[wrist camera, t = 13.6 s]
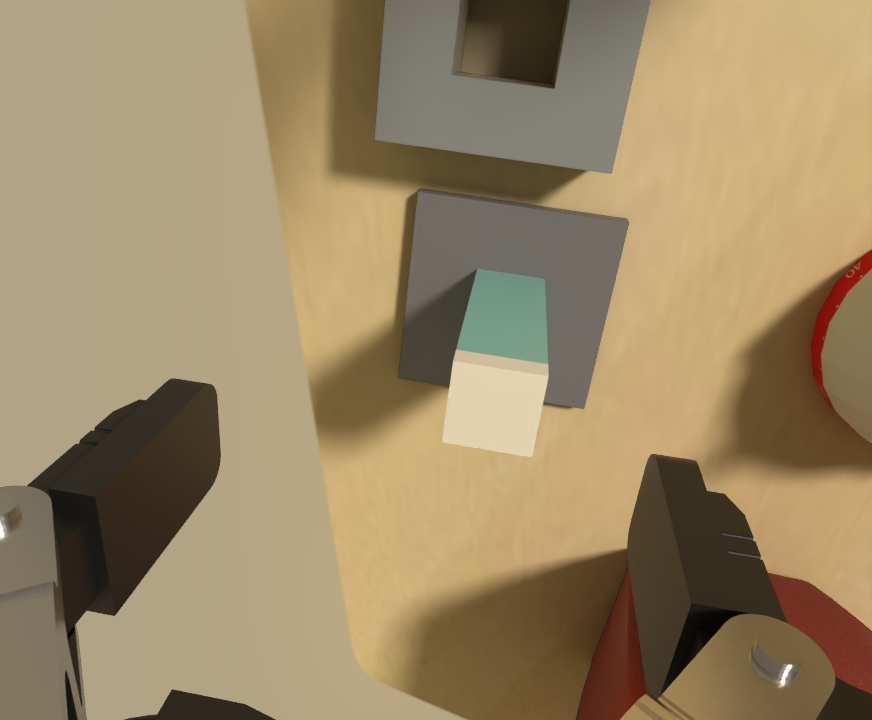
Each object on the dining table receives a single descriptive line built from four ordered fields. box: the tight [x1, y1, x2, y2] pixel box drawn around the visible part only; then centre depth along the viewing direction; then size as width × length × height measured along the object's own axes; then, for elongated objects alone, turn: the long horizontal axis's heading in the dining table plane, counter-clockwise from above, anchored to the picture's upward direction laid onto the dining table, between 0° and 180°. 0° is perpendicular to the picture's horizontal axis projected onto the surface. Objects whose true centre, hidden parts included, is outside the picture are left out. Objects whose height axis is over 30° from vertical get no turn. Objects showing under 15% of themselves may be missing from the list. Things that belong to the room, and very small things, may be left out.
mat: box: [398, 189, 629, 409], centre depth 42 cm, size 12×12×1 cm
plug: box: [442, 269, 549, 457], centre depth 35 cm, size 4×4×13 cm
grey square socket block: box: [375, 0, 650, 174], centre depth 34 cm, size 12×12×4 cm
